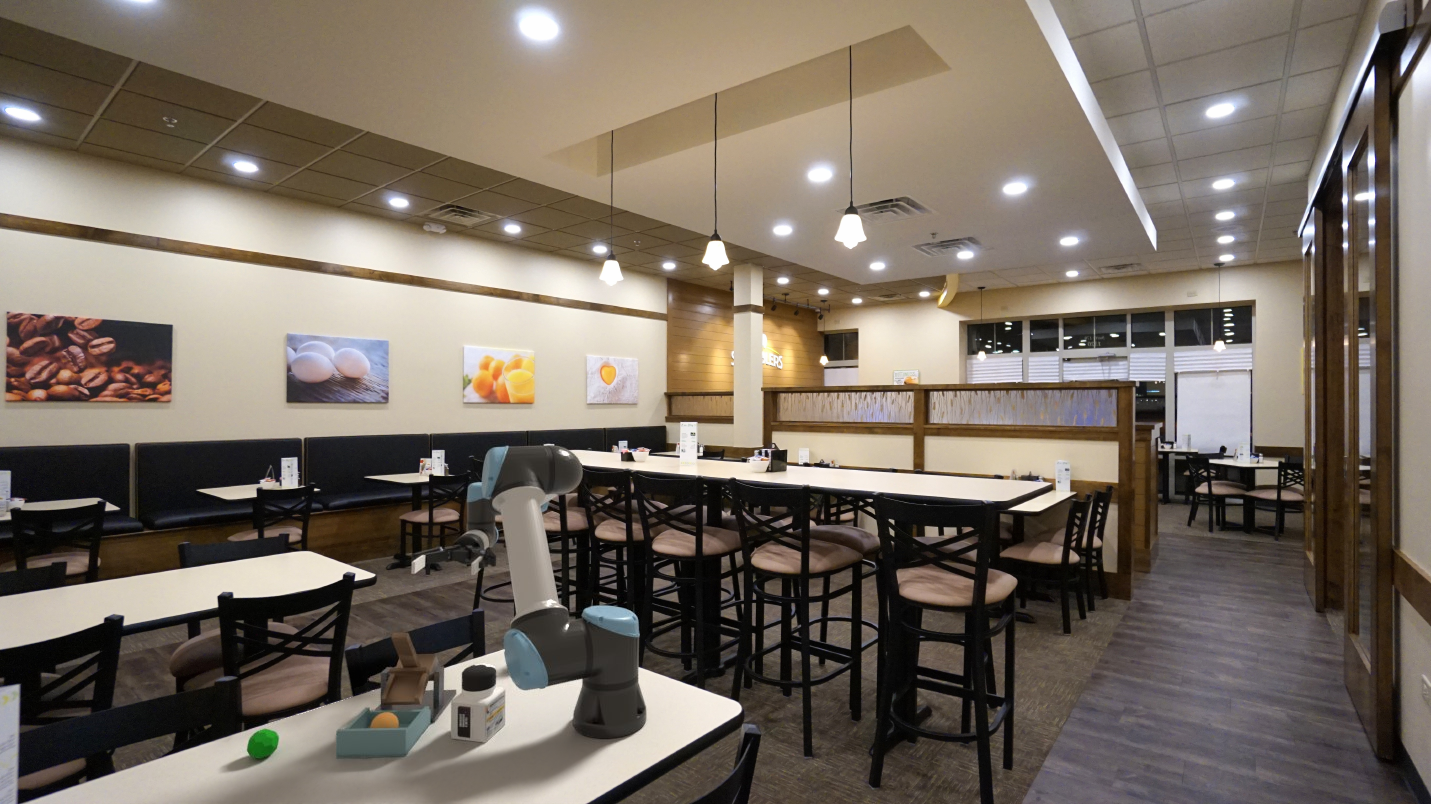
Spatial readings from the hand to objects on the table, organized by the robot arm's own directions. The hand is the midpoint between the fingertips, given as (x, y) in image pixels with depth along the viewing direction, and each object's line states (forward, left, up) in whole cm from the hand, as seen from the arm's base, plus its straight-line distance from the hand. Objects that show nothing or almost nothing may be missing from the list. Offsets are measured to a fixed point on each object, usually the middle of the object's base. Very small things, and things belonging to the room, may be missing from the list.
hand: (443, 568), depth 154 cm
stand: (-9, +7, -28) cm, 30 cm away
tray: (-21, +12, -28) cm, 37 cm away
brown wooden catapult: (-7, +6, -24) cm, 26 cm away
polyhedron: (-17, +33, -28) cm, 46 cm away
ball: (-21, +13, -25) cm, 35 cm away
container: (-26, -4, -28) cm, 38 cm away
